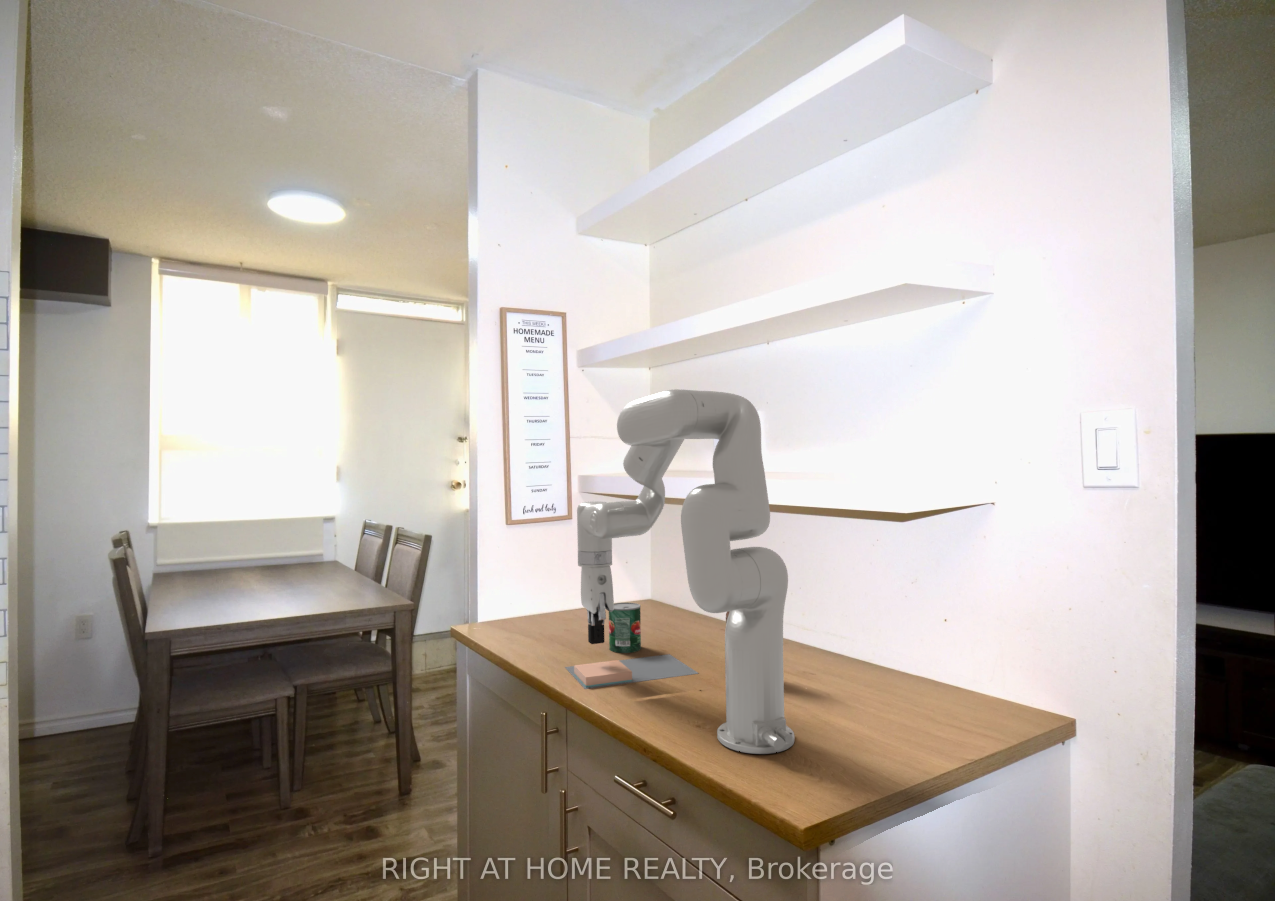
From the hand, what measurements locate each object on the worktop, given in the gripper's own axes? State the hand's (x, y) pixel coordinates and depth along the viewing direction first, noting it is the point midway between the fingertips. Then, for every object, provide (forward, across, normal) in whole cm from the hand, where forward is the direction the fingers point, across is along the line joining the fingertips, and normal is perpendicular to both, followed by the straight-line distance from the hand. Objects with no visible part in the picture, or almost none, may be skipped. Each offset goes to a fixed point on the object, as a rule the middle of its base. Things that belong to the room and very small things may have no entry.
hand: (596, 642), depth 149 cm
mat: (+7, -2, -7) cm, 10 cm away
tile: (+5, 0, 0) cm, 5 cm away
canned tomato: (+7, +15, -12) cm, 21 cm away
